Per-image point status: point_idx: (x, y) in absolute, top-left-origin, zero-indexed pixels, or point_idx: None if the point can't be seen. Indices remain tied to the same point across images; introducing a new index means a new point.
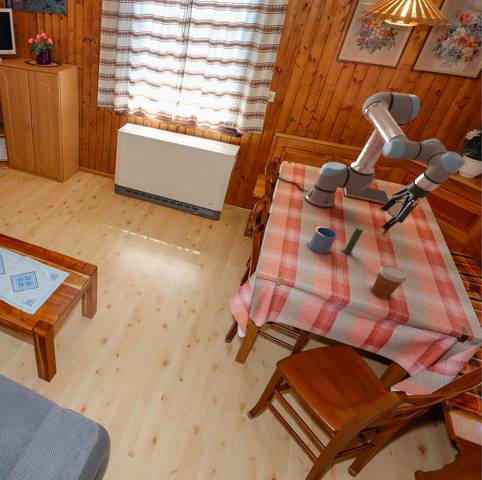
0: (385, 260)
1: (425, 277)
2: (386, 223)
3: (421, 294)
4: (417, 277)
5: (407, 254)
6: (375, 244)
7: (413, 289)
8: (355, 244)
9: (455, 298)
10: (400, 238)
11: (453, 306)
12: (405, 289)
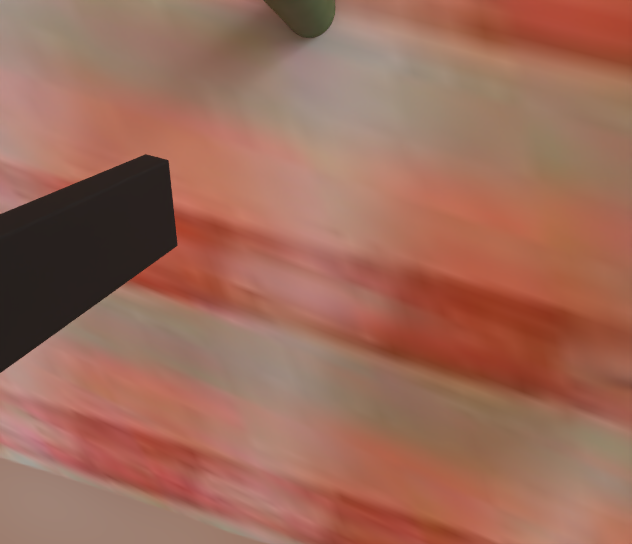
0: (293, 273)
1: (198, 418)
2: (61, 189)
3: None
4: (181, 379)
5: (405, 431)
6: (487, 281)
7: None
8: (274, 10)
9: (84, 463)
10: (604, 476)
11: (21, 427)
12: None
